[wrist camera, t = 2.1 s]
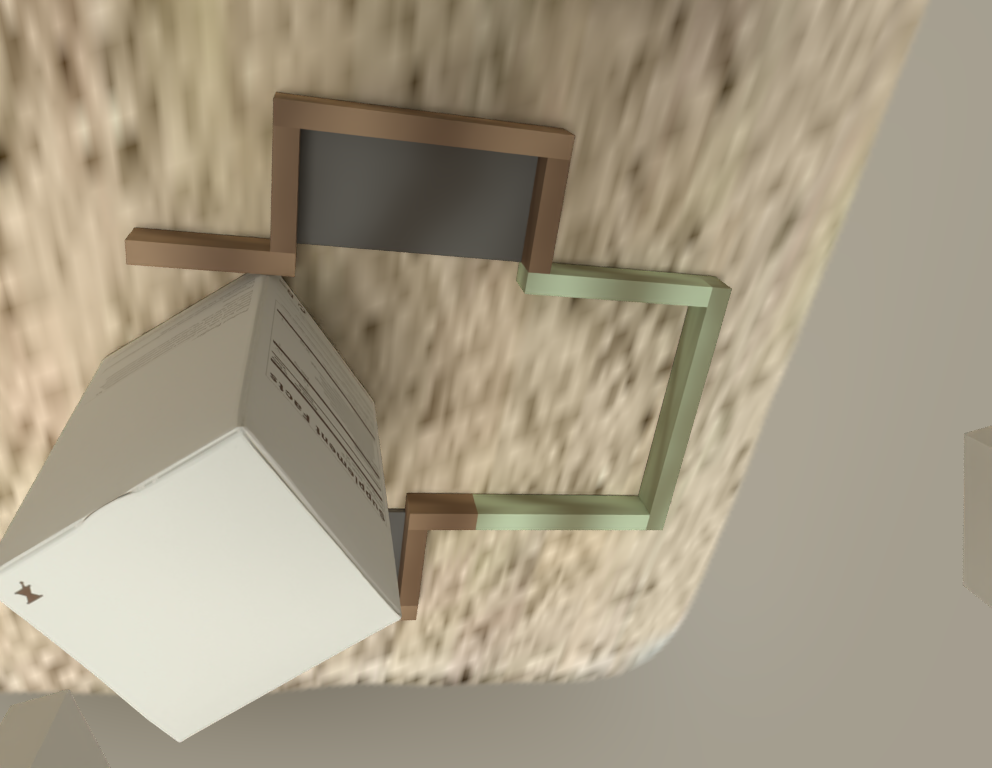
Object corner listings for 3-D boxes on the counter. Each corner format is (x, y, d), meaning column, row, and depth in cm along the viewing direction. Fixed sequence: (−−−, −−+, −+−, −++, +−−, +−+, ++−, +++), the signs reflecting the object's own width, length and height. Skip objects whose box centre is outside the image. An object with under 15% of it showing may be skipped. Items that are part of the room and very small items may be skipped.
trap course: (155, 602, 41) (148, 626, 39) (126, 73, 30) (114, 78, 28) (627, 592, 47) (638, 613, 45) (749, 152, 36) (769, 160, 34)
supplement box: (224, 495, 39) (173, 756, 26) (98, 357, 35) (-42, 586, 21) (382, 406, 38) (410, 626, 25) (273, 254, 34) (239, 425, 21)
